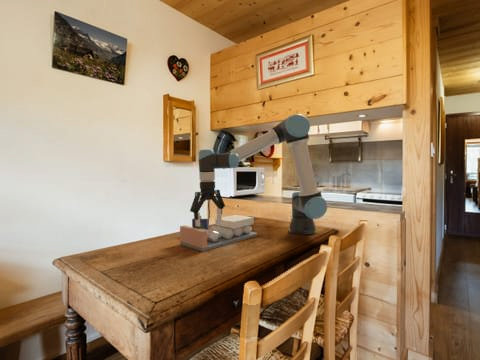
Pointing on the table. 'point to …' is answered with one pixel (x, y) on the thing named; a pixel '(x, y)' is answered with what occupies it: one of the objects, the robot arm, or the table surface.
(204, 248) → the roller bed
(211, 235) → the loose roller
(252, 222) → the stone slab
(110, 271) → the table surface
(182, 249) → the table surface
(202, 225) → the flask
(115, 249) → the table surface
